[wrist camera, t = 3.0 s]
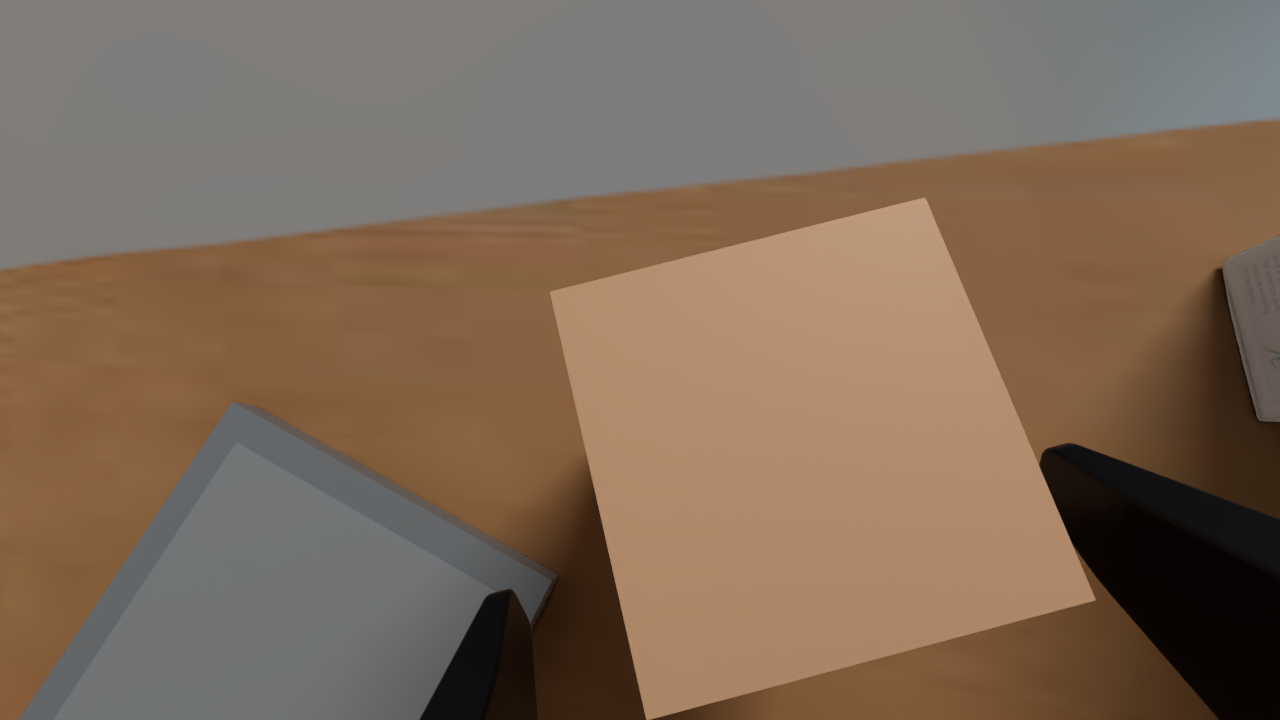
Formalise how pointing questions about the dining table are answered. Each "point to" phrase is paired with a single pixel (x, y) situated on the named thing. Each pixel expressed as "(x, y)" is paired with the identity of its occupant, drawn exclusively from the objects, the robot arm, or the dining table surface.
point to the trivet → (283, 593)
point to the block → (805, 459)
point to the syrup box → (1257, 321)
